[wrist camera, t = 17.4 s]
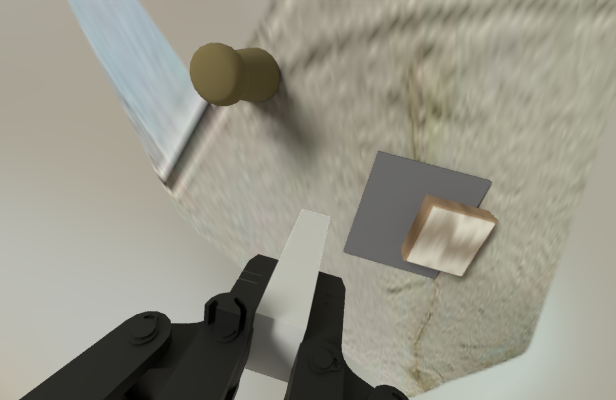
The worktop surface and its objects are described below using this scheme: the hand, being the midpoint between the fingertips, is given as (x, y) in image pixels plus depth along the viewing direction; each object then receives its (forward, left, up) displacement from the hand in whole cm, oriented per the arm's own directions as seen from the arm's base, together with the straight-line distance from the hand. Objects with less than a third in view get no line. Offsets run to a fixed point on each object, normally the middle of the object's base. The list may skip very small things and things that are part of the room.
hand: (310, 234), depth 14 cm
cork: (-5, -12, -23) cm, 26 cm away
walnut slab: (+8, +13, -20) cm, 25 cm away
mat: (+8, +12, -22) cm, 27 cm away
